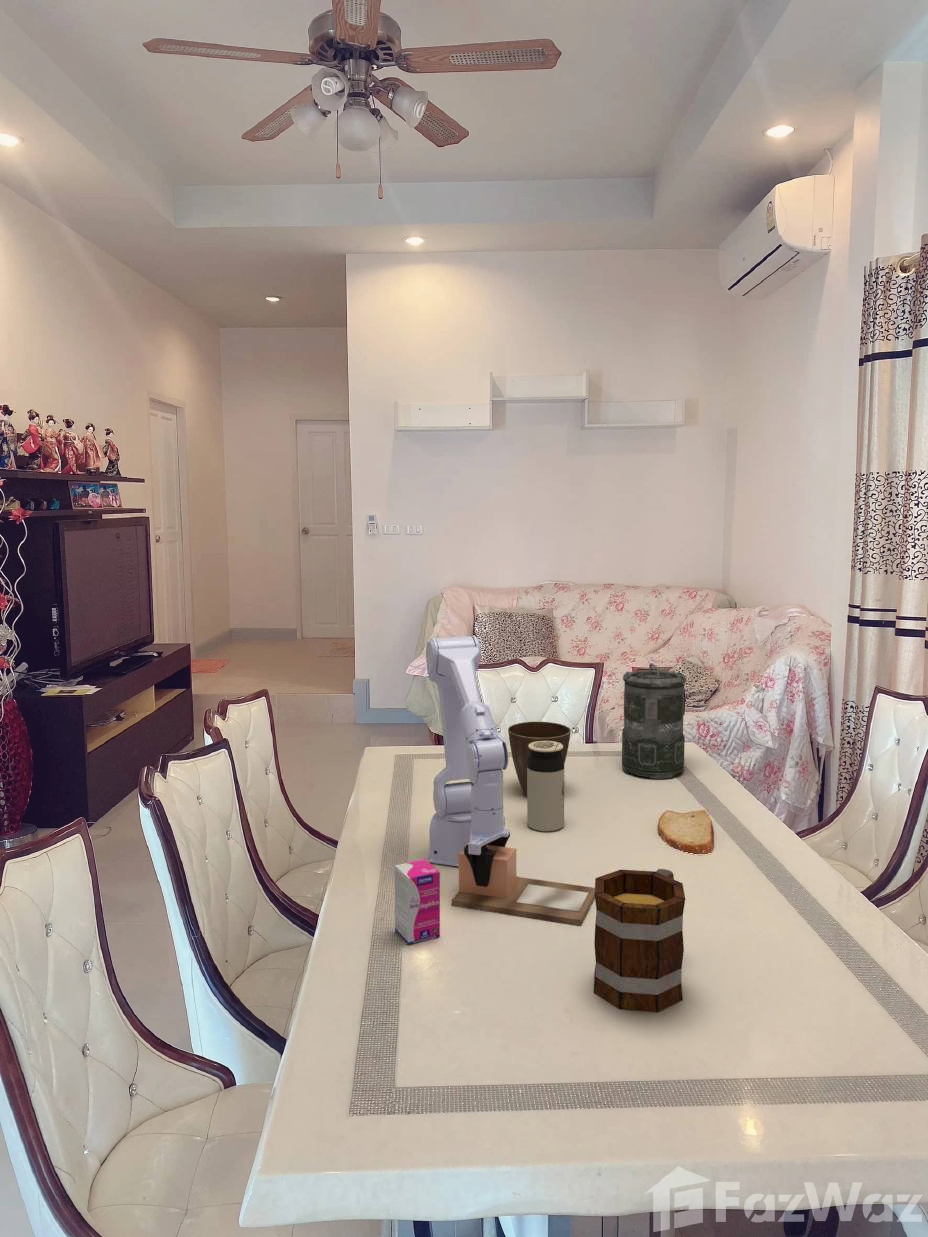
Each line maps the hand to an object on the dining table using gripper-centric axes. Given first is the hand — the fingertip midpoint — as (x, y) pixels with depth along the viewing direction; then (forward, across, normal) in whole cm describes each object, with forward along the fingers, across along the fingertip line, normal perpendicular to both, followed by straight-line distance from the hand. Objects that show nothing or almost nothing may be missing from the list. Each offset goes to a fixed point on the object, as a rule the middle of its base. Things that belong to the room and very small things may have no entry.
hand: (487, 878), depth 159 cm
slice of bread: (+3, +41, -31) cm, 52 cm away
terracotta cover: (+2, 0, 0) cm, 2 cm away
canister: (+3, +83, -17) cm, 85 cm away
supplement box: (+3, -18, +6) cm, 19 cm away
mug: (+3, -19, -31) cm, 36 cm away
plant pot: (+3, +56, +6) cm, 56 cm away
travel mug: (+3, +36, -1) cm, 36 cm away
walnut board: (+3, 0, -7) cm, 8 cm away
